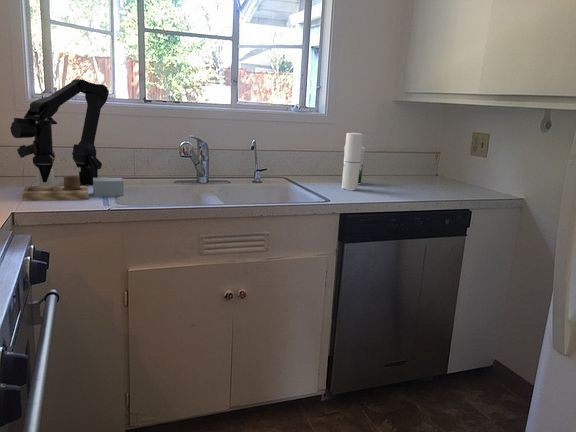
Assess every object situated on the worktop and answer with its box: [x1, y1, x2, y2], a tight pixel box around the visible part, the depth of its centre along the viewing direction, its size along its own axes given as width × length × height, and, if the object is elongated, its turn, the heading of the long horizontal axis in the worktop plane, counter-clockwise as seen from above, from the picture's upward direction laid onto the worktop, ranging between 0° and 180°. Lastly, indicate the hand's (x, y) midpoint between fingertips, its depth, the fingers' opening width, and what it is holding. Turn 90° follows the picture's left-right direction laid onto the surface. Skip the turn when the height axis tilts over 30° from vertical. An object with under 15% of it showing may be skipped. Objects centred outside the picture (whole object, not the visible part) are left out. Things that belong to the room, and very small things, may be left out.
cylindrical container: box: [341, 132, 364, 190], centre depth 219 cm, size 7×7×25 cm
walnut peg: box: [63, 175, 81, 191], centre depth 172 cm, size 5×4×7 cm
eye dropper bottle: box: [36, 167, 55, 186], centre depth 179 cm, size 4×6×12 cm
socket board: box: [21, 185, 89, 202], centre depth 171 cm, size 20×12×2 cm, turn 113°
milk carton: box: [341, 145, 366, 183], centre depth 236 cm, size 9×9×20 cm
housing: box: [92, 177, 125, 198], centre depth 179 cm, size 10×7×6 cm
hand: (45, 180), depth 179 cm, fingers closed on eye dropper bottle, 8 cm apart
